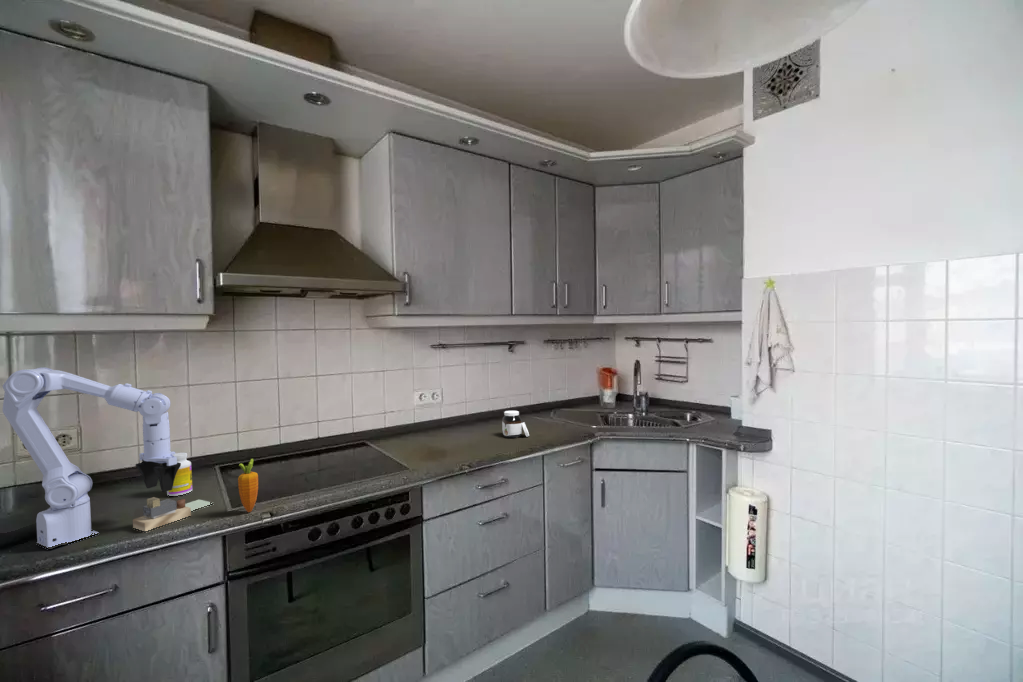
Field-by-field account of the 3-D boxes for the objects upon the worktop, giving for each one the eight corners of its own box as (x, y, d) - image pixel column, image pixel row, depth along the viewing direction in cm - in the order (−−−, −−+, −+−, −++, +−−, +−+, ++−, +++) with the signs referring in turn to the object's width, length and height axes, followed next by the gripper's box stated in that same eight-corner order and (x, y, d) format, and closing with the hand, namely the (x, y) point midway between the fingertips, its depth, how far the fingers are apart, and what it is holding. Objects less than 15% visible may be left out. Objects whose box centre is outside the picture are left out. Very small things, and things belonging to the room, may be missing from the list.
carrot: (240, 517, 126) (238, 463, 125) (238, 512, 130) (236, 459, 129) (260, 513, 129) (258, 460, 128) (258, 507, 133) (256, 456, 132)
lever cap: (151, 517, 120) (150, 501, 120) (143, 515, 122) (142, 499, 122) (176, 509, 125) (176, 494, 125) (168, 507, 127) (167, 492, 127)
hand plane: (145, 532, 118) (144, 515, 118) (133, 528, 120) (132, 511, 120) (191, 516, 128) (190, 500, 128) (179, 513, 130) (178, 497, 130)
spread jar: (500, 435, 216) (499, 411, 215) (521, 432, 220) (521, 408, 220) (511, 440, 205) (510, 414, 204) (533, 437, 209) (532, 412, 209)
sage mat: (186, 513, 130) (186, 512, 130) (171, 509, 133) (171, 508, 133) (213, 504, 137) (213, 502, 137) (199, 500, 140) (199, 499, 140)
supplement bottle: (195, 493, 147) (193, 453, 147) (170, 499, 142) (168, 458, 142) (189, 488, 152) (187, 450, 151) (164, 494, 147) (163, 454, 146)
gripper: (188, 437, 123) (190, 487, 124) (159, 433, 130) (161, 481, 130) (158, 444, 117) (161, 496, 117) (129, 439, 124) (131, 489, 124)
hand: (159, 488), depth 123 cm, fingers open, 7 cm apart
